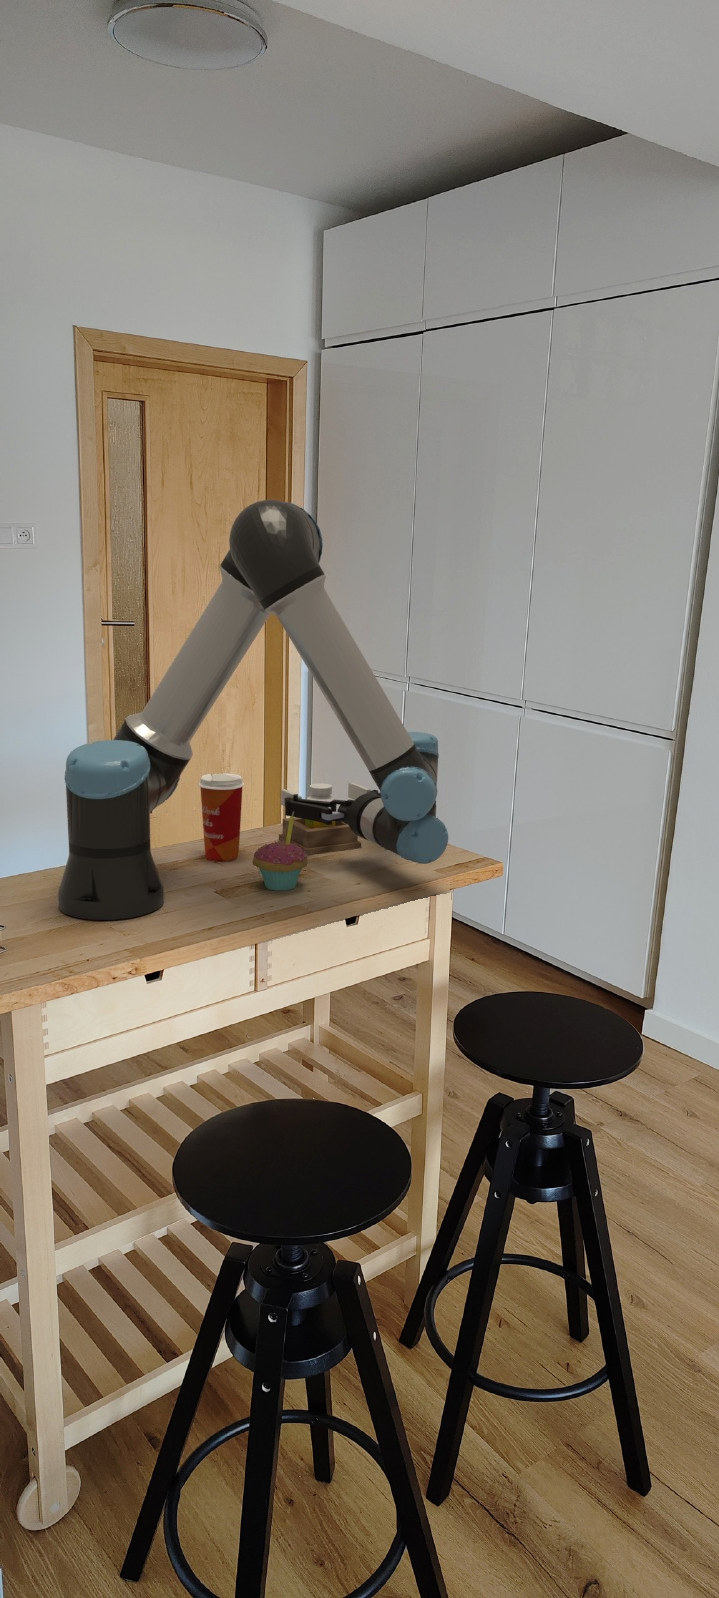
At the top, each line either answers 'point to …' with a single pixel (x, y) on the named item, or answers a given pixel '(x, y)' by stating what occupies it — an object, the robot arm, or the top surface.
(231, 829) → the paper cup
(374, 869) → the top surface
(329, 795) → the supplement bottle
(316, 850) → the socket block
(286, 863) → the cupcake
